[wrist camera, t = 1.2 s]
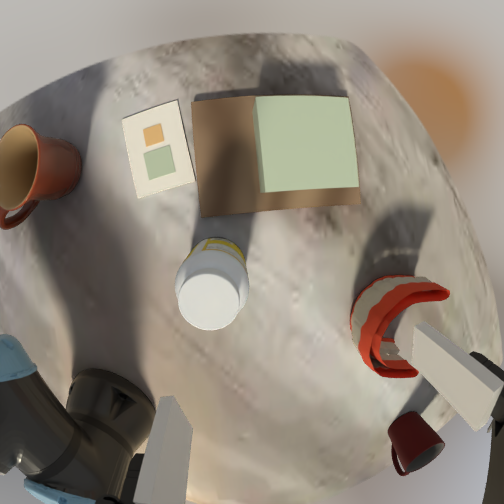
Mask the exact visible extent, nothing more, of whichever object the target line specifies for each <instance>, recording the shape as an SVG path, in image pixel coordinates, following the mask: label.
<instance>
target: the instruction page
mask: <svg viewBox="0 0 504 504" xmlns="http://www.w3.org/2000/svg"><path fill="white" fill-rule="evenodd" d="M122 124H123V130H124V136H125V141H126V147H127V152H128V157H129V162H130V167H131V171H132V176H133V181H134V185H135V189H136V193H137V198H138V199H139V198H142V197H145V196H148V195H151V194H154V193H157V192H161V191H164V190H167V189H170V188H174V187H177V186H181V185H184V184H187V183H191V182H195V181H196V180H195V176H194V172H193V168H192V164H191V159H190V155H189V151H188V147H187V142H186V138H185V133H184V129H183V124H182V120H181V115H180V110H179V106H178V101H177V100H176V101H173V102H170V103H167V104H163V105H160V106H157V107H154V108H152V109H149V110H146V111H143V112H140V113H138V114H135V115H133V116H130V117H127V118H125V119H122Z"/></svg>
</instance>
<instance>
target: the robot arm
mask: <svg viewBox="0 0 504 504" xmlns="http://www.w3.org/2000/svg"><path fill="white" fill-rule="evenodd" d="M412 365H413V366H414V367H415V368H416V369H417V370H418V371H419V372H420V373H421V374H422V375H423V376H424V377H425V378H426V379H427V380H428V381H429V382H430V384H431V385H432V386H433V387H434V388H435V389H436V390H437V391H438V392H439V393H440V394H441V395H442V396H443V397H444V398H445V399H446V400H447V401H448V402H449V404H450V405H451V406H452V407H453V408H454V409H455V410H456V411H457V412H458V413H459V414H460V415H461V416H462V417H463V419H465V421H466V422H467V423H468V424H469V425H470V426H471V427H472V428H473V429H474V431H475V432H476V431H478V430H479V429H480V428H481V427H482V426H484V425H485V424H486V423H487V421H488V419H489V417H490V415H491V416H492V417H493V420H492V422H491V424H490V426H489V428H488V431H487V432H489V431H490V430H491V428H492V440H491V452H490V462H489V470H488V476H487V483H486V488H485V493H484V498H483V502H482V504H504V371H503V370H502V369H501V368H499V367H498V366H497V365H496V364H493V362H492V361H490V360H488V358H486V357H485V356H484V355H482V354H480V353H477V352H474V351H473V352H471V353H470V354H468V353H467V352H465V351H464V350H463V349H461V348H460V347H459V346H457V345H456V344H455V343H453V342H452V341H451V340H449V339H448V338H447V337H445V336H444V335H443V334H441V333H440V332H439V331H437V330H436V329H435V328H433V327H432V326H430V325H429V324H428V323H426V322H425V321H423V322H421V323H419V324H417V325H415V326H414V337H413V352H412ZM192 433H193V428H192V426H191V424H190V423H189V421H188V419H187V418H186V416H185V414H184V413H183V411H182V409H181V408H180V406H179V404H178V402H177V401H176V399H175V397H174V396H166V397H160V401H159V404H158V407H157V411H156V413H155V410H154V407H153V405H152V404H151V402H150V401H149V399H148V398H147V397H146V395H145V394H144V393H143V392H142V391H141V390H139V389H138V388H137V387H136V386H135V385H133V384H132V383H130V382H129V381H127V380H126V379H124V378H122V377H120V376H118V375H116V374H114V373H111V372H108V371H104V370H99V369H88V370H84V371H82V372H80V373H79V374H78V375H77V376H76V378H75V379H74V381H73V382H72V384H71V386H70V389H69V396H68V400H67V404H66V409H65V408H64V407H63V406H62V404H61V403H60V402H59V400H58V399H57V398H56V397H55V395H54V394H53V392H52V391H51V390H50V388H49V387H48V386H47V384H46V383H45V381H44V380H43V378H42V377H41V375H40V374H39V372H38V371H37V366H36V364H35V363H33V362H32V361H31V359H30V358H29V356H28V355H27V353H26V351H25V350H24V348H23V347H22V345H21V343H20V342H19V341H18V340H17V339H16V338H15V337H13V336H11V335H8V334H1V335H0V475H5V474H6V473H7V472H8V471H9V470H10V469H11V468H12V467H14V466H16V467H17V468H18V469H19V470H20V471H21V472H22V473H24V474H25V475H26V476H27V477H26V479H24V487H25V489H26V490H27V491H28V492H29V493H30V494H32V495H33V496H35V497H36V498H37V499H39V500H40V501H42V502H44V503H45V504H185V500H186V489H187V479H188V469H189V459H190V450H191V441H192ZM148 437H149V439H148V443H147V447H146V451H145V454H138V453H136V454H135V455H134V457H133V454H134V452H135V451H136V450H137V449H138V448H139V447H140V446H141V444H142V443H143V442H144V441H145V440H146V438H148ZM132 457H133V458H132Z"/></svg>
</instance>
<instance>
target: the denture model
mask: <svg viewBox="0 0 504 504" xmlns="http://www.w3.org/2000/svg"><path fill="white" fill-rule="evenodd" d="M449 295H450V291H449V290H447V289H445V288H444V287H442V286H440V285H438V284H436V283H434V282H433V283H432V282H431V281H430V280H428V279H427V278H426V277H416V278H415V277H414V276H409V275H406V276H404V275H394V276H392V275H389V276H383V277H382V278H379V279H377V280H375V281H373V282H372V284H371V285H369V286H368V287H366V288H365V289H364V290H363V291H362V292H361V293H360V295H359V296H358V298H357V300H356V302H355V304H354V307H353V310H352V313H351V317H350V329H351V331H352V336H353V338H352V340H353V343H354V345H355V347H356V348H357V349H358V352H359V353H360V355H361V356H362V359H363V361H364V363H365V364H366V365H367V366H368V367H370V368H371V369H372V370H373V371H375V372H376V373H377V374H379V375H380V376H382V377H388V378H411V377H416V376H417V375H418V373H419V371H418V370H417V369H415V368H413V367H412V366H411V365H410V364H409V363H408V362H407V360H404V359H403V358H402V357H400V356H399V355H397V354H398V353H399V349H398V347H397V346H396V345H395V341H394V340H393V339H392V338H382V336H383V335H384V333H385V331H386V329H387V327H388V325H389V324H390V322H391V321H392V320H393V319H394V318H395V317H396V316H397V315H398V314H399V313H400V312H402V311H403V310H404V309H406V308H407V307H409V306H410V305H412V304H415V303H420V302H429V301H442V300H445V299H447V298H448V297H449ZM387 353H388V354H389V355H387Z"/></svg>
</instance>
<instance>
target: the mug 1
mask: <svg viewBox="0 0 504 504" xmlns="http://www.w3.org/2000/svg"><path fill="white" fill-rule="evenodd" d="M81 166H82V164H81V157H80V154H79V152H78V150H77V149H76V148H75V147H74V146H73V145H72V144H71V143H69V142H67V141H65V140H62V139H56V138H52V137H45V136H41V135H40V134H38V133H37V132H36V131H35V130H34V129H33V128H32V127H31V126H29V125H26V124H18V125H15V126H14V127H12V128H10V129H9V130H8V131H7V132H6V133H5V134H4V135H3V137H2V138H1V140H0V228H2V229H4V230H8V229H11V228H14V227H16V226H18V225H19V224H21V223H22V222H23V221H24V220H25V219H26V218H27V217H28V216H29V215H30V213H31V212H32V211H33V210H34V209H35V207H36V206H37V205H38V203H39V202H40V201H41V200H55V199H58V198H61V197H63V196H65V195H67V194H68V193H70V192H71V191H72V190H73V189H74V187H75V186H76V184H77V182H78V180H79V178H80V174H81ZM23 205H24V206H23ZM22 206H23V208H22V209H21V210H20V211H19V212H18V213H16V214H15V215H13V216H11V217H8V218H5V217H6V215H7V213H8V212H9V211H13V210H16V209H18V208H20V207H22Z"/></svg>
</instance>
